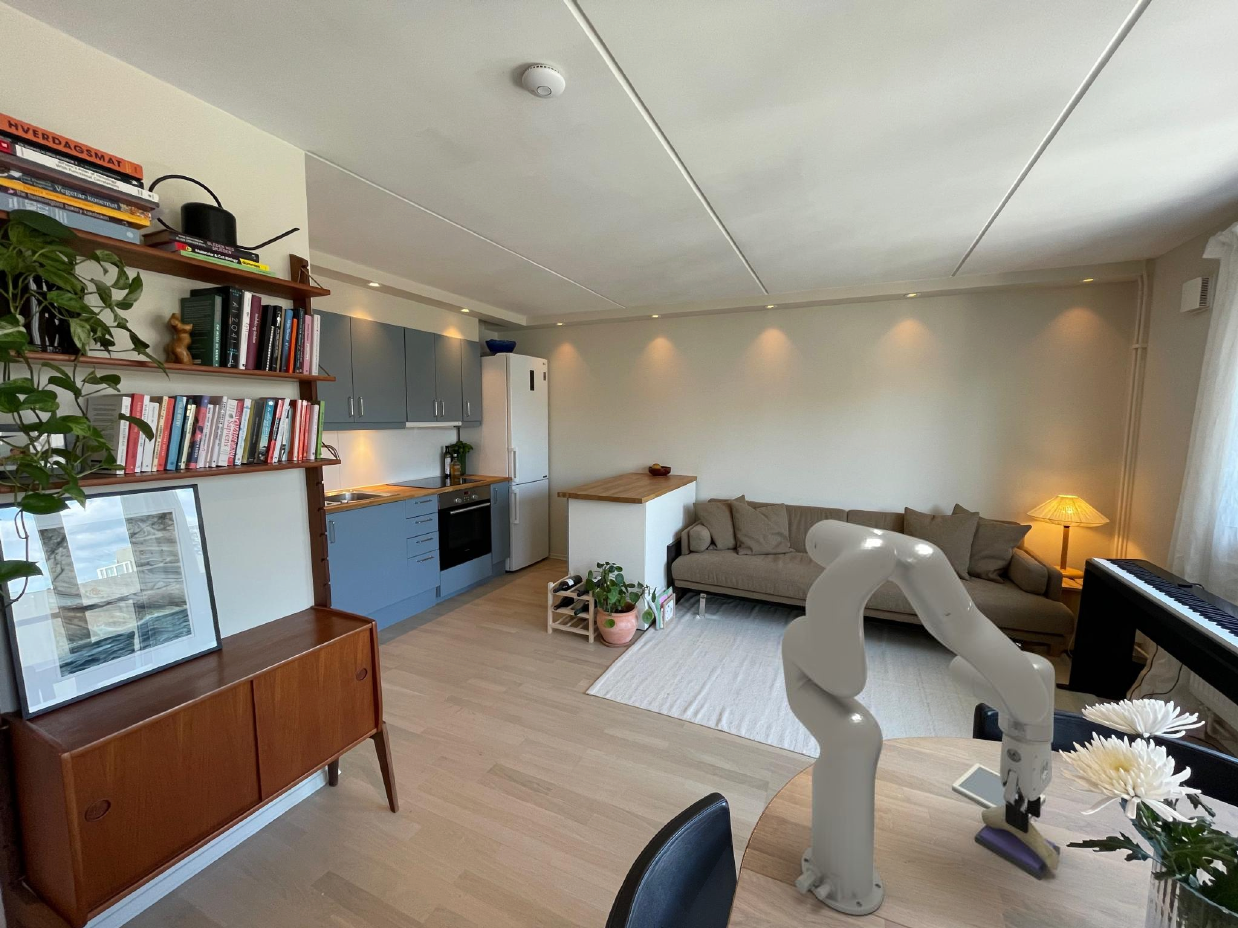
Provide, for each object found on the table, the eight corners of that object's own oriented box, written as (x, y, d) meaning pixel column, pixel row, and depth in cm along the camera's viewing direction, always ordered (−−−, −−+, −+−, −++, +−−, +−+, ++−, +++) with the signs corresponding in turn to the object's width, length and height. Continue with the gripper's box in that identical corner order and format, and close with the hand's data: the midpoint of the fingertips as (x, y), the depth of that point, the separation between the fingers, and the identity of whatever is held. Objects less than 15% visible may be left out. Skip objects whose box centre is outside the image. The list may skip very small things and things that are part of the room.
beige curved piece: (978, 823, 92) (979, 798, 92) (999, 813, 94) (1000, 789, 94) (1049, 873, 82) (1050, 845, 81) (1071, 861, 84) (1072, 834, 84)
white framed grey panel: (1022, 827, 93) (1022, 822, 93) (951, 789, 103) (952, 784, 103) (1045, 800, 99) (1045, 795, 99) (976, 767, 109) (977, 762, 109)
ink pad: (1040, 880, 82) (1040, 871, 82) (974, 840, 90) (975, 833, 90) (1059, 852, 87) (1060, 844, 87) (996, 817, 95) (996, 810, 95)
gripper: (1033, 753, 79) (1031, 858, 81) (1068, 716, 89) (1066, 811, 90) (979, 730, 86) (978, 828, 87) (1017, 698, 95) (1015, 787, 96)
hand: (1022, 818), depth 88 cm, fingers closed on beige curved piece, 4 cm apart
